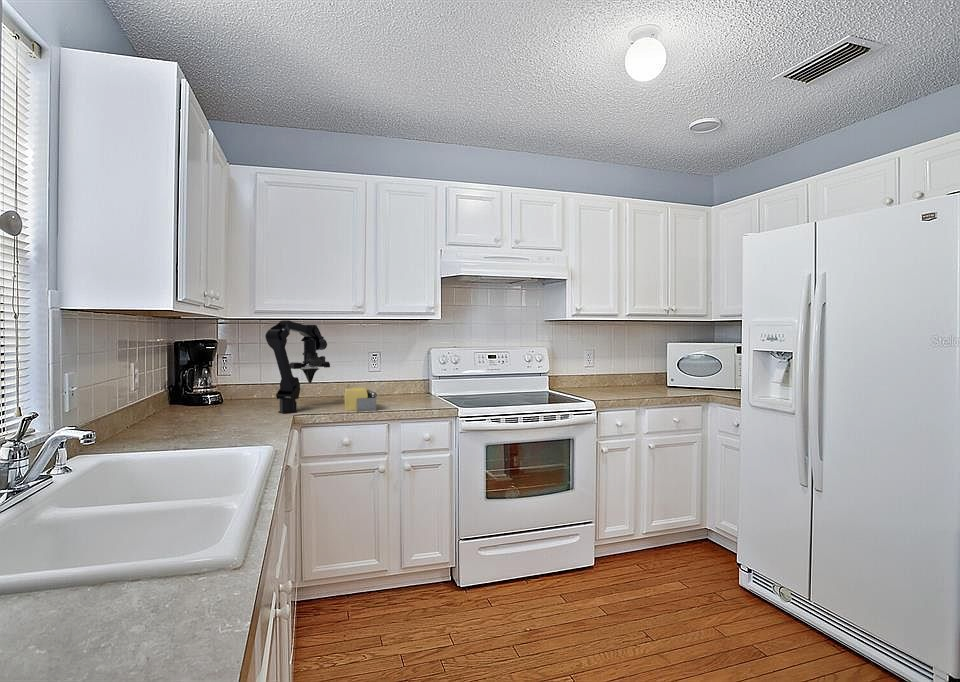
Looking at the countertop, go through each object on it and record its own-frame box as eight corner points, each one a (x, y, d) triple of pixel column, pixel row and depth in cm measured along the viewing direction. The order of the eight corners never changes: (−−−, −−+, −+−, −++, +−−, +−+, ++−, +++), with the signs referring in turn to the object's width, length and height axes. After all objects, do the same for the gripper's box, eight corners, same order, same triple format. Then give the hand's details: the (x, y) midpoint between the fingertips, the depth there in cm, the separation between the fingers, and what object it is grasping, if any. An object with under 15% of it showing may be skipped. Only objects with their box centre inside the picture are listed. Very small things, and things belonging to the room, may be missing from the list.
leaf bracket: (357, 411, 272) (357, 393, 272) (350, 407, 288) (350, 389, 288) (377, 410, 276) (377, 392, 276) (369, 406, 292) (369, 389, 291)
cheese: (345, 408, 285) (345, 387, 284) (368, 407, 286) (368, 387, 286) (344, 411, 274) (344, 389, 274) (367, 410, 276) (367, 389, 276)
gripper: (299, 351, 272) (299, 385, 272) (335, 350, 284) (335, 383, 285) (288, 350, 280) (288, 383, 280) (324, 350, 293) (324, 381, 293)
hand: (310, 382), depth 284 cm, fingers closed
